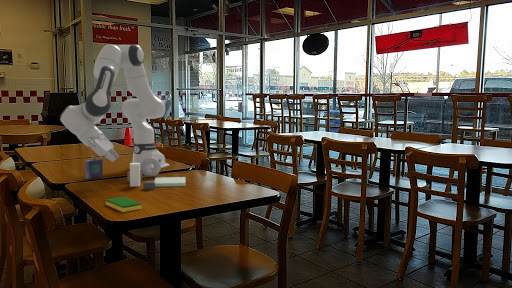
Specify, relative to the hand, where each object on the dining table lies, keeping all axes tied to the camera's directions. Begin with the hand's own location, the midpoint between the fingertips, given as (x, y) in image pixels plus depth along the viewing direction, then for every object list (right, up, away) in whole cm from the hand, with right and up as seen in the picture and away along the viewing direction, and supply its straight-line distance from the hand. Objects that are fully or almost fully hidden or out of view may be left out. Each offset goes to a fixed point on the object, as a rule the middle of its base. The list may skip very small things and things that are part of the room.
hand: (116, 159), depth 183 cm
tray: (+22, -12, +9) cm, 26 cm away
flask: (-17, -10, +19) cm, 28 cm away
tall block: (+8, -12, +3) cm, 14 cm away
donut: (+9, -10, +25) cm, 28 cm away
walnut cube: (+5, -11, +12) cm, 17 cm away
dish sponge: (+14, -17, -34) cm, 40 cm away
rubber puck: (+16, -13, -4) cm, 21 cm away
